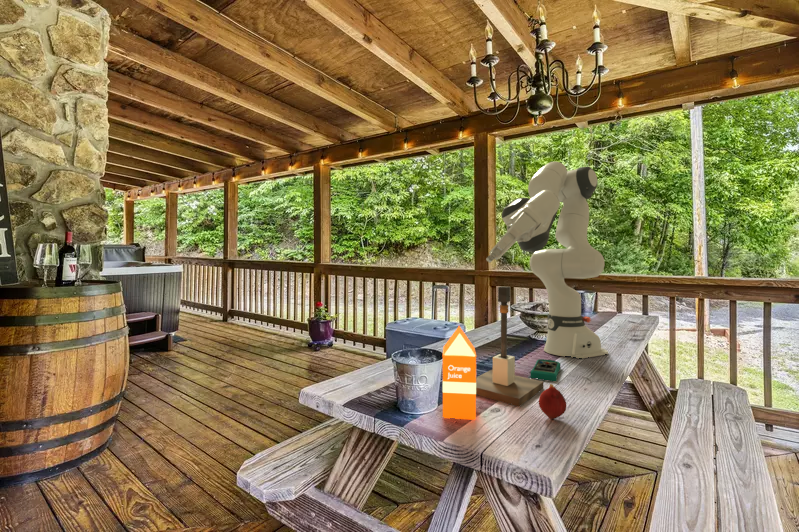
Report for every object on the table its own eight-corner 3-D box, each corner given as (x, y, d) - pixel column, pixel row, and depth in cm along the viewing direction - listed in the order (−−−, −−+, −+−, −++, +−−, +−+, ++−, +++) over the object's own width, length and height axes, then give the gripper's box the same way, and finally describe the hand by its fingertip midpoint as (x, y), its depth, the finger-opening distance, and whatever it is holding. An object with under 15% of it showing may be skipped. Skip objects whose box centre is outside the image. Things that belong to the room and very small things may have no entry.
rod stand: (490, 376, 115) (491, 283, 114) (543, 388, 105) (544, 286, 104) (463, 391, 103) (463, 287, 102) (519, 406, 93) (520, 291, 92)
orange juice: (442, 418, 87) (442, 332, 86) (443, 402, 96) (443, 324, 95) (476, 420, 86) (477, 332, 85) (474, 404, 94) (474, 325, 94)
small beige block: (499, 378, 107) (500, 353, 107) (514, 381, 104) (514, 356, 104) (492, 382, 104) (492, 357, 104) (507, 386, 101) (507, 360, 101)
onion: (569, 418, 86) (570, 384, 86) (560, 427, 82) (561, 391, 82) (544, 411, 90) (544, 378, 90) (534, 419, 86) (534, 384, 86)
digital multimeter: (560, 369, 123) (560, 360, 123) (556, 383, 110) (556, 373, 110) (537, 366, 127) (537, 357, 127) (530, 380, 114) (530, 370, 113)
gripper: (501, 234, 126) (475, 260, 121) (528, 203, 107) (498, 231, 102) (515, 247, 125) (489, 274, 120) (545, 218, 106) (515, 247, 101)
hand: (493, 254), depth 111 cm, fingers open, 8 cm apart
